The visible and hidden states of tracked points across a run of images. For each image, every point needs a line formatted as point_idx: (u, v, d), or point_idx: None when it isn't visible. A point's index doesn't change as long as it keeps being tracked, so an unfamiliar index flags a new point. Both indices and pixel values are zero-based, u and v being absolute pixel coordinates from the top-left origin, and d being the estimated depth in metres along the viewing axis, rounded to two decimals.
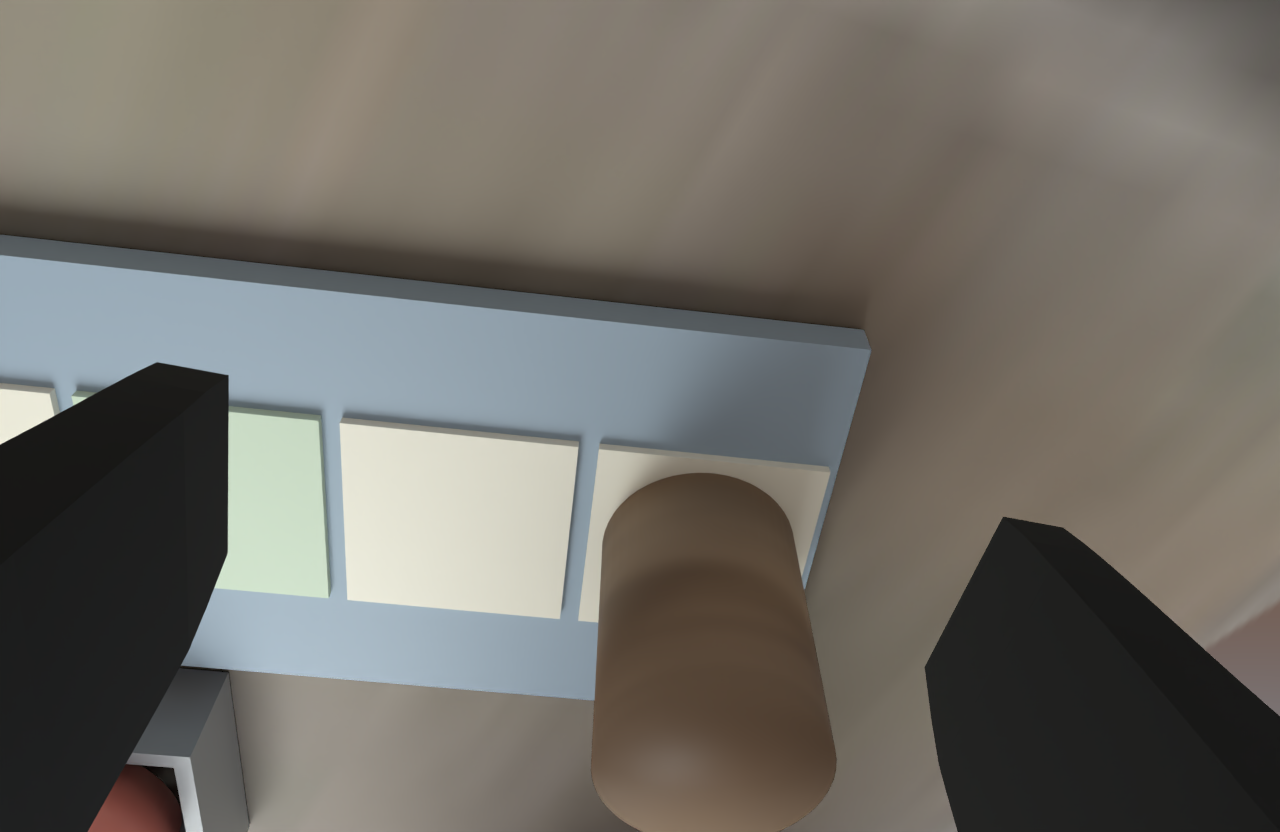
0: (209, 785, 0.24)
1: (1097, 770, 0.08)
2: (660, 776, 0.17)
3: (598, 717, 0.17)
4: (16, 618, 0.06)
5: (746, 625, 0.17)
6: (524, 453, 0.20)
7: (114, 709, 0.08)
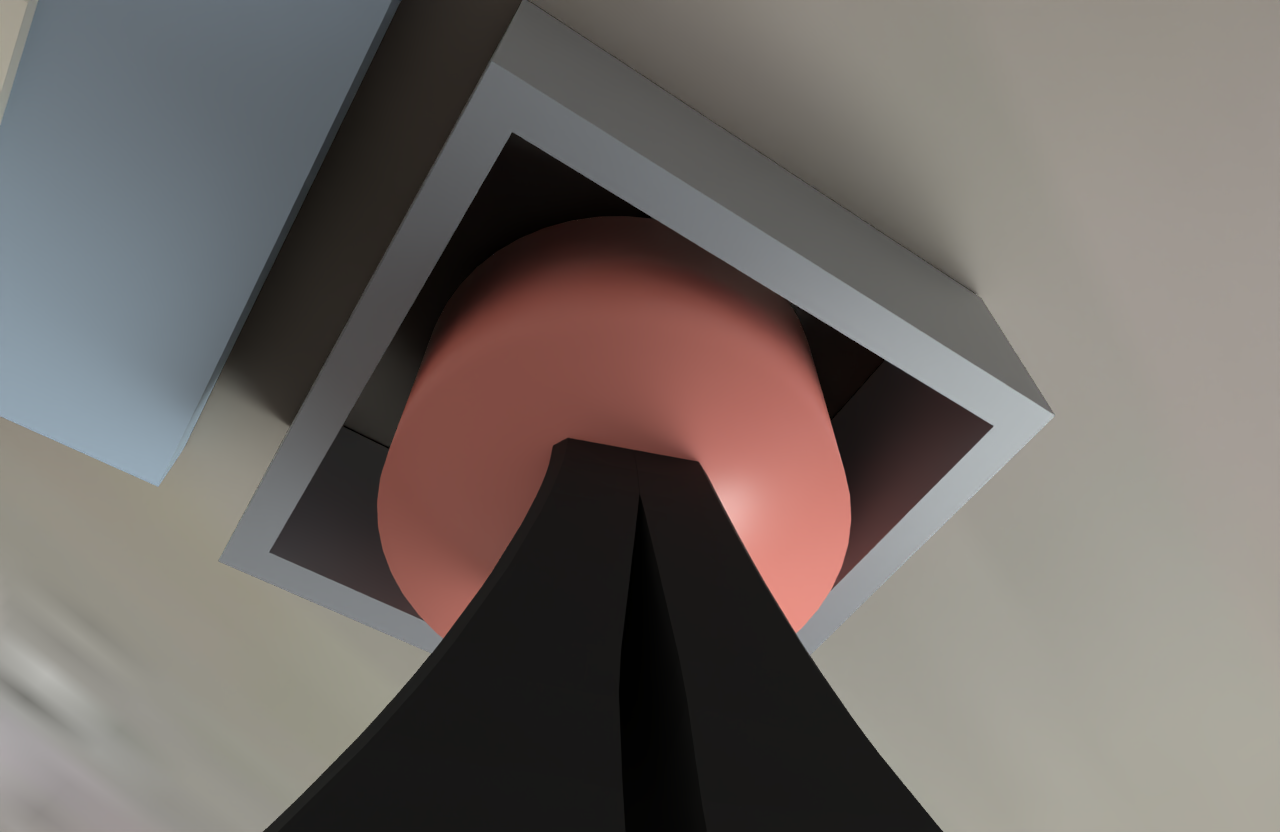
0: (687, 159, 0.09)
1: (638, 699, 0.07)
2: None
3: None
4: None
5: None
6: None
7: None
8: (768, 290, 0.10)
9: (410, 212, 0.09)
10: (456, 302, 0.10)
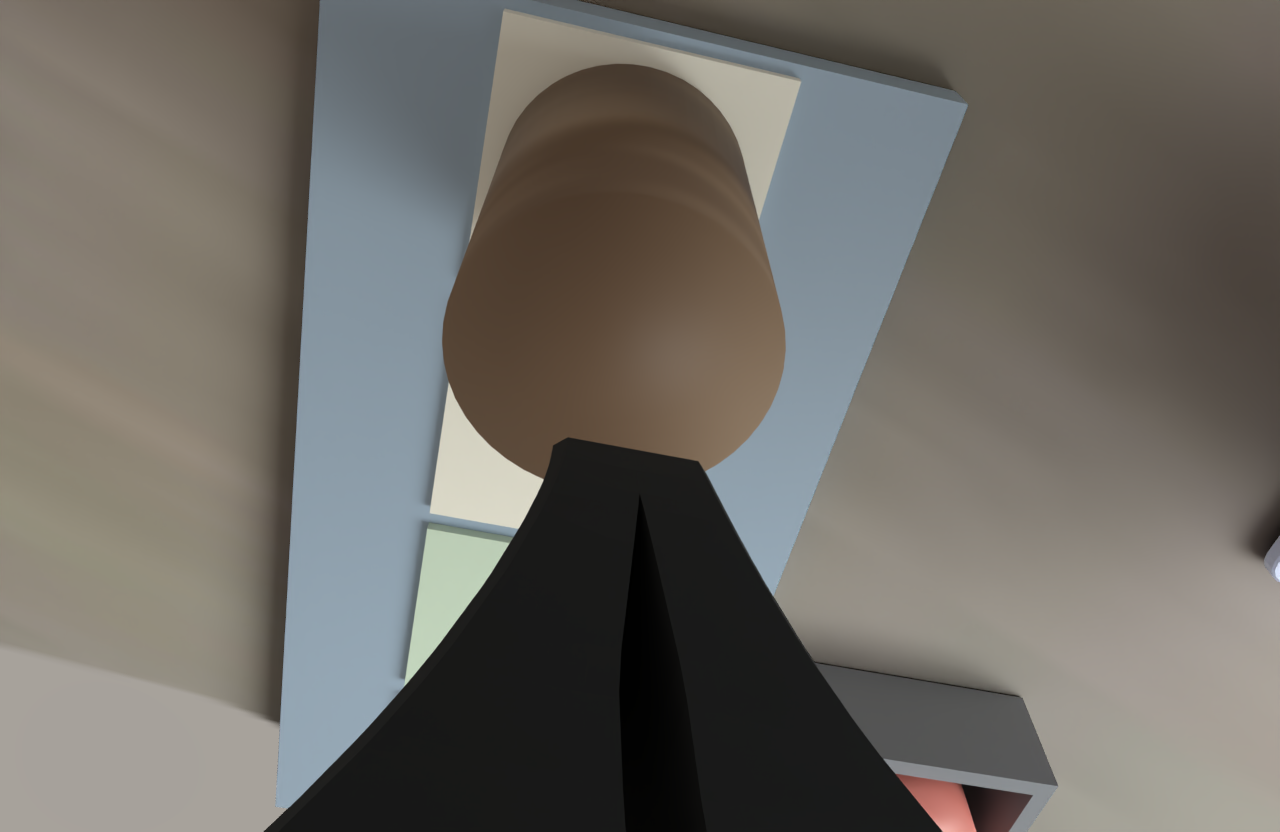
0: (871, 732, 0.22)
1: (637, 699, 0.07)
2: (622, 418, 0.12)
3: None
4: None
5: None
6: None
7: None
8: None
9: None
10: None
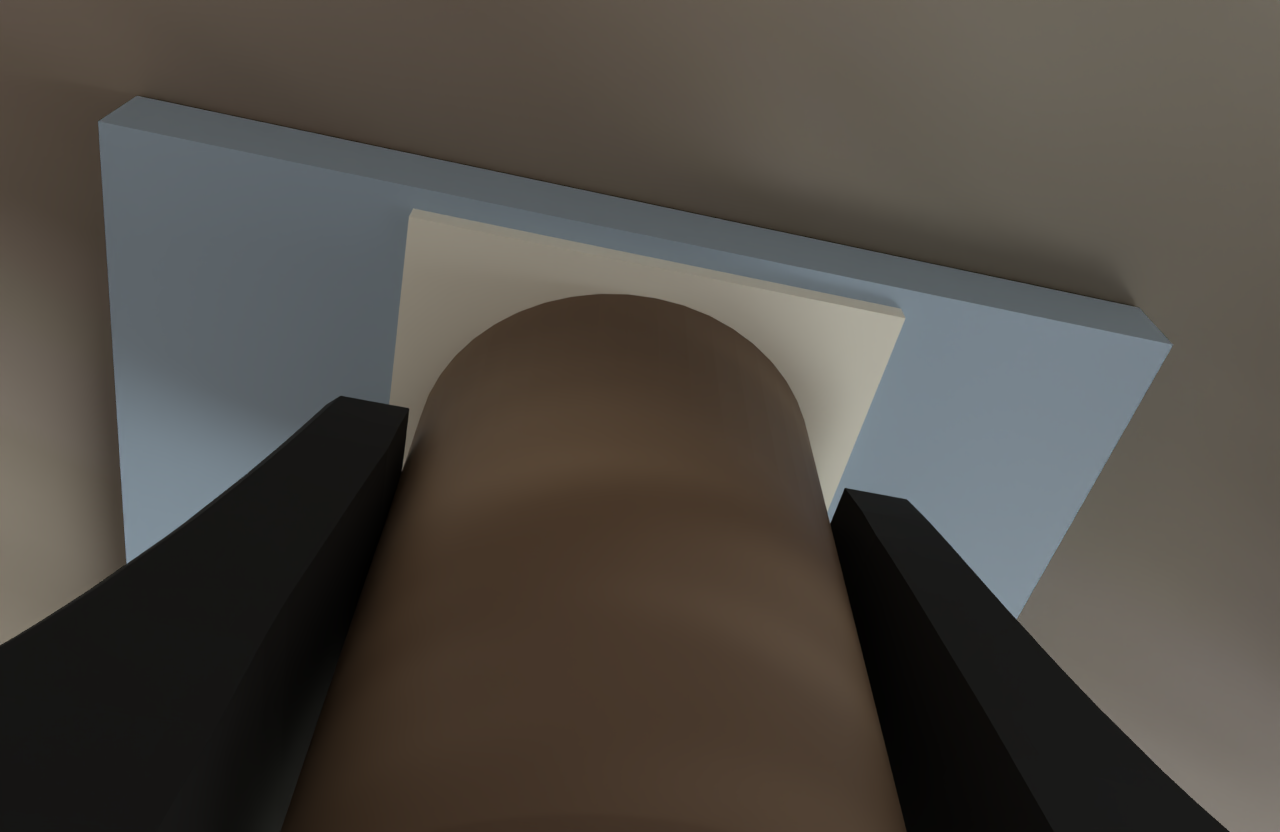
0: None
1: (901, 740, 0.07)
2: None
3: None
4: (282, 660, 0.06)
5: (304, 760, 0.07)
6: None
7: None
8: None
9: None
10: None
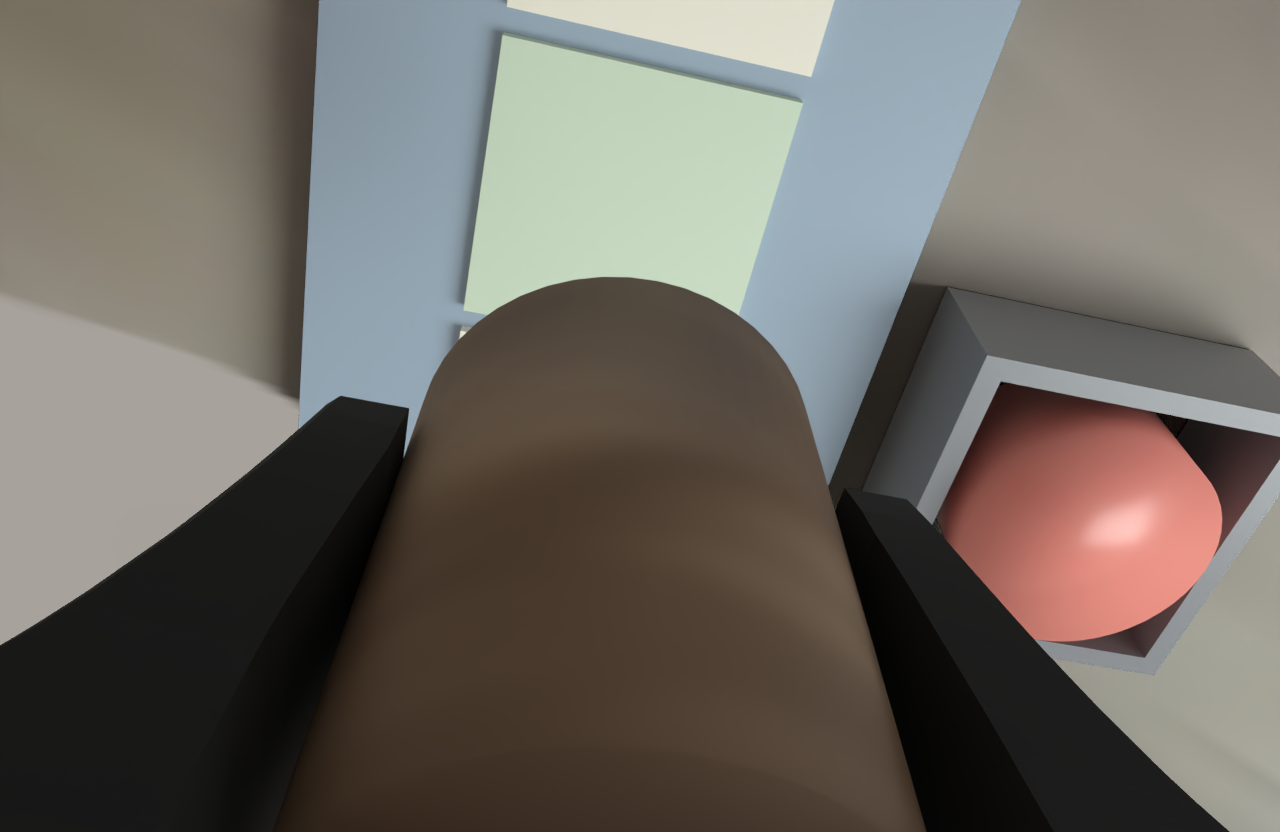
0: (1080, 356, 0.17)
1: (901, 739, 0.07)
2: None
3: None
4: (282, 659, 0.06)
5: None
6: None
7: None
8: None
9: (952, 430, 0.17)
10: None
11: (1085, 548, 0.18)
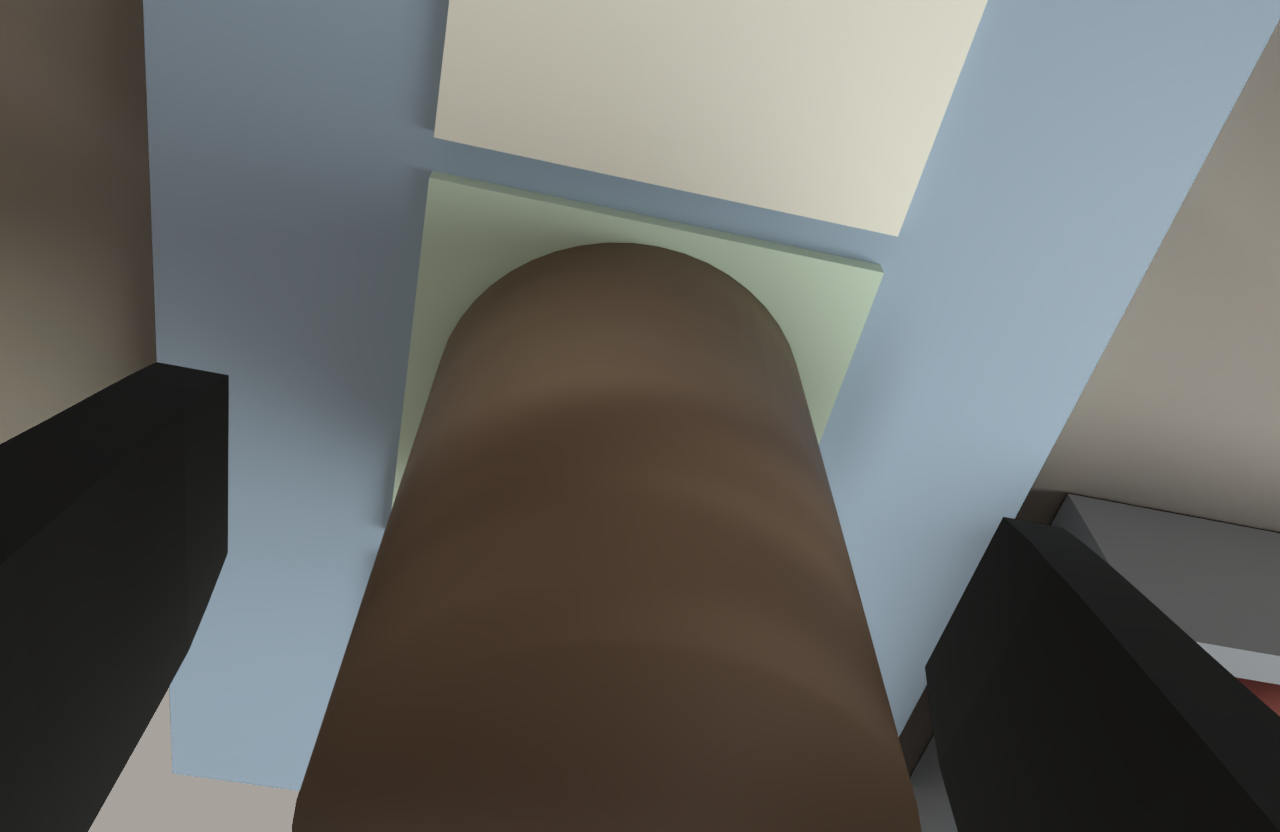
0: (1273, 617, 0.12)
1: (1097, 770, 0.08)
2: None
3: None
4: (16, 619, 0.06)
5: (350, 638, 0.07)
6: None
7: (114, 709, 0.08)
8: None
9: None
10: None
11: None
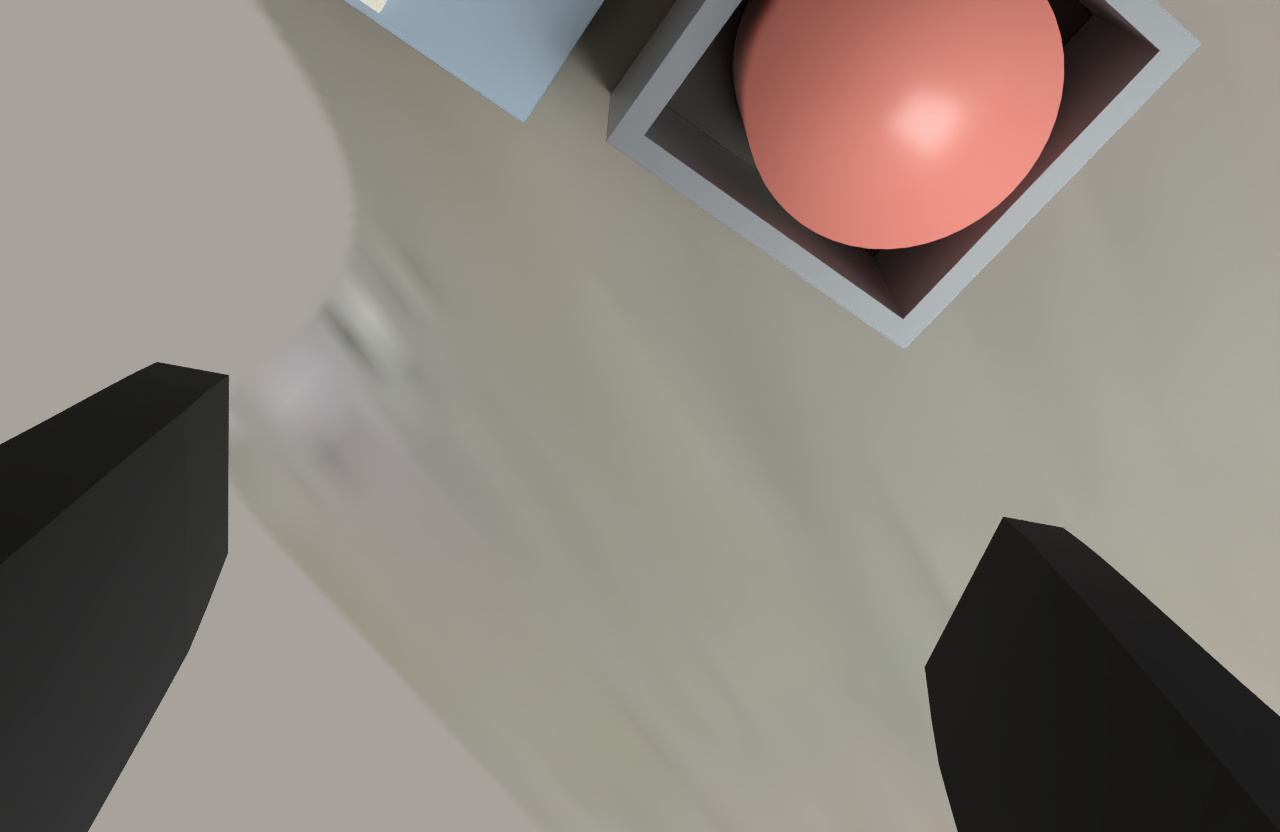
0: None
1: (1097, 770, 0.08)
2: None
3: None
4: (16, 618, 0.06)
5: None
6: None
7: (115, 709, 0.08)
8: None
9: None
10: None
11: (899, 98, 0.14)
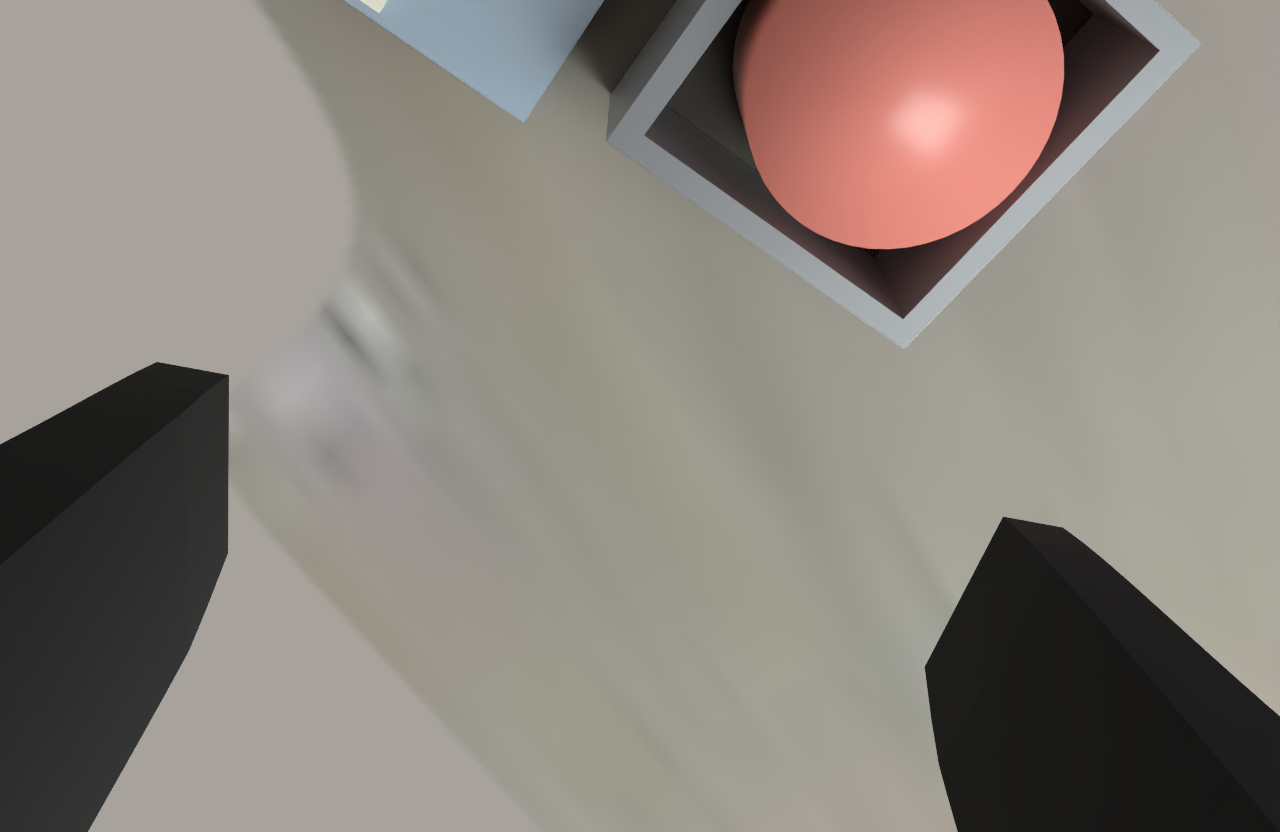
0: None
1: (1097, 770, 0.08)
2: None
3: None
4: (16, 618, 0.06)
5: None
6: None
7: (115, 709, 0.08)
8: None
9: None
10: None
11: (899, 98, 0.14)
